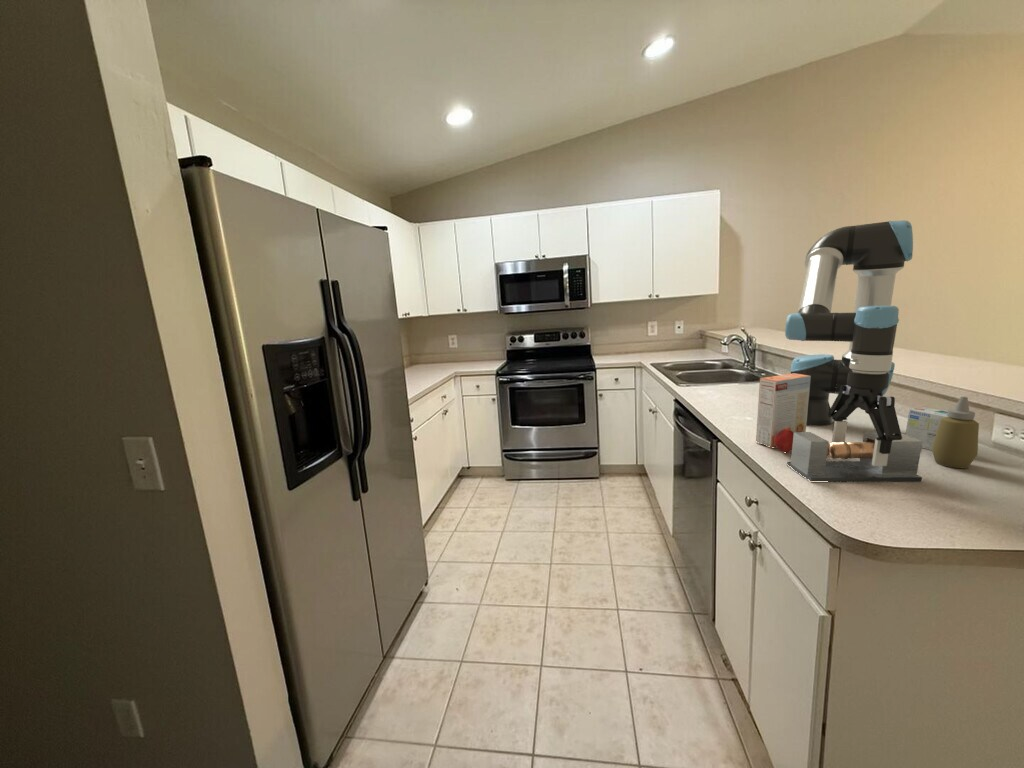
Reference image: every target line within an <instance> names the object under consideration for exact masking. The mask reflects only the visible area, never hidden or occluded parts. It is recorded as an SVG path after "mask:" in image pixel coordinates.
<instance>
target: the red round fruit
mask: <svg viewBox="0 0 1024 768" xmlns="http://www.w3.org/2000/svg"><path fill="white" fill-rule="evenodd" d="M793 436H794V432H793V431H791V428H790V427H786V428H785V429H783V430H781V431H779V432H778V433H777V434H776V436H775V438H774V443H775V445H776V448H777V449H778V450H780V452H782V453H784V452H786V453H785V454H789V453H791V452H792V445H793Z"/></svg>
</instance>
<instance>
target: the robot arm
mask: <svg viewBox="0 0 1024 768" xmlns="http://www.w3.org/2000/svg"><path fill="white" fill-rule="evenodd" d="M913 236H914V235H913V226H912V224H911V222H910V221H909V220H888V221H881V222H874V223H866V224H857V225H848V226H842V227H838V228H836V229H833V230H831V231H830V232H828V233H826V234H824V235H823V236H822V237H820V238H819V239H818V240H817V241H815V242H814V243H813V244H812V246H811V247H810V248H809V250H808V251H807V253H806V256H805V260H804V267H805V269H806V272H805V277H804V281H803V287H802V292H801V296H800V300H799V304H798V309H797V312H793V313H789V314H788V315H787V316H786V321H785V328H784V331H785V333H784V334H785V338H786V339H787V340H790V341H801V342H808V341H809V342H845V343H847V342H849V346H848V347H849V348H848V350H846V351H845V352H844V353H842V355H841V359H835V357H834V355H833V354H810V355H809V354H807V355H802V356H797V357H795V358H794V359H792V360H791V361H792V362H791V367H790V370H789V372H790V374H792V373H796V374H802V375H808V376H811V379H810V390H809V401H808V412H807V423H806V426H814V427H817V426H818V427H820V426H822V427H823V426H829V425H832V424H833V426H832V440H831V443H837V442H846V436H847V427H848V418H849V416H850V415H851V414H852V413H853V412H854V411H856V410H857V409H860V410H862V411H864V413H866V414H868V417H869V418H870V420H871V422H872V425H873V427H874V430H875V432H877V434H878V438H875V445H874V452H873V458H872V465H873V466H887V460H888V454H889V453H890V450H891V444H892V441H893V440H901V439H902V435H901V433H902V432H901V428H900V424H899V420H898V416H897V412H896V408H895V404H896V398H895V396H885V394H886V393H887V392H888V390H889V387H890V385H891V381H892V379H893V376H894V372H895V371H894V370H895V367H896V366H895V362H893V356H894V355H893V354H894V350H893V349H894V346H895V340H896V335H897V328H898V323H899V321H900V319H899V311H900V310H899V307H898V306H896V305H892V301H893V295H894V288H895V280H896V275H897V273H898V272H899V271H901V270H902V269H904V267H905V262H909V261H912V259H913V253H914V252H913V250H914V237H913ZM845 265H846V266H850V265H851V266H853V267H852V271H853V272H854V273H856V275H858V276H857V286H856V293H855V300H854V307H853V312H831V311H832V306H833V302H834V301H833V300H834V296H835V294H834V293H835V287H836V283H837V282H836V281H837V275H838V270H839V269H840V268H841V267H842V266H845ZM830 394H834V395H835V394H836V395H837V396H836V398H835V399H834V402H833V403H832V405H830V402H829V401H830V400H829V398H830ZM884 433H885V435H884ZM893 434H895V435H893Z"/></svg>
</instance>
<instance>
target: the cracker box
mask: <svg viewBox="0 0 1024 768" xmlns="http://www.w3.org/2000/svg"><path fill="white" fill-rule="evenodd" d="M810 379H811V376H808V375H802V374H796V373H792V374H791V373H786V374H780V375H779V374H778V375H773V376H766V377H760V378H759V388H758V402H757V403H758V404H757V419H756V422H757V423H756V431H755V433H756V435H755V442H756V441H757V442H759V443H762V444H765V445H767V446H770V447H776V445H775V443H774V438H775V436H776V434H777V433H778V432H779V431H781V430H783V429H785V428H786V427H790V428H791V431H793V432H807V425H806V423H807V412H808V401H809V390H810ZM776 448H777V447H776Z"/></svg>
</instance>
